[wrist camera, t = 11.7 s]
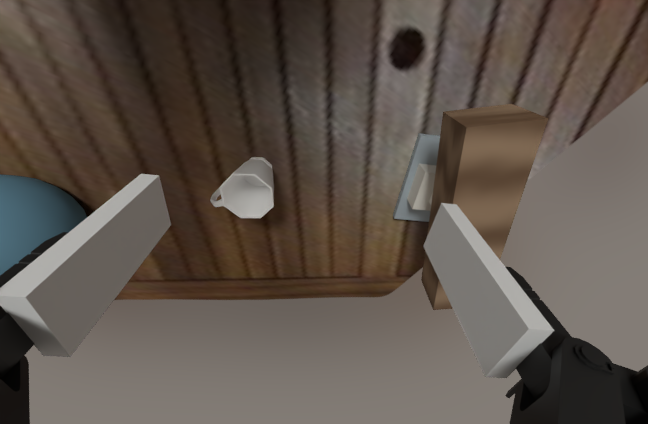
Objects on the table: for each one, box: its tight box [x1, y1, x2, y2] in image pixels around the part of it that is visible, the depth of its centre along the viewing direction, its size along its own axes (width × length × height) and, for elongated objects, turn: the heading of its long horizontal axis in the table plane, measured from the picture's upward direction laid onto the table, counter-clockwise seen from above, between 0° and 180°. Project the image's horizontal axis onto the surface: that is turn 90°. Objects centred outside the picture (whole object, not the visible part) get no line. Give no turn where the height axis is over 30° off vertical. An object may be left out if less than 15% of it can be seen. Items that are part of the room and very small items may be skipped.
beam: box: [422, 104, 548, 310], centre depth 33 cm, size 26×7×6 cm, turn 6°
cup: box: [210, 157, 274, 218], centre depth 38 cm, size 7×10×8 cm
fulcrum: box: [393, 134, 440, 222], centre depth 39 cm, size 14×10×8 cm
